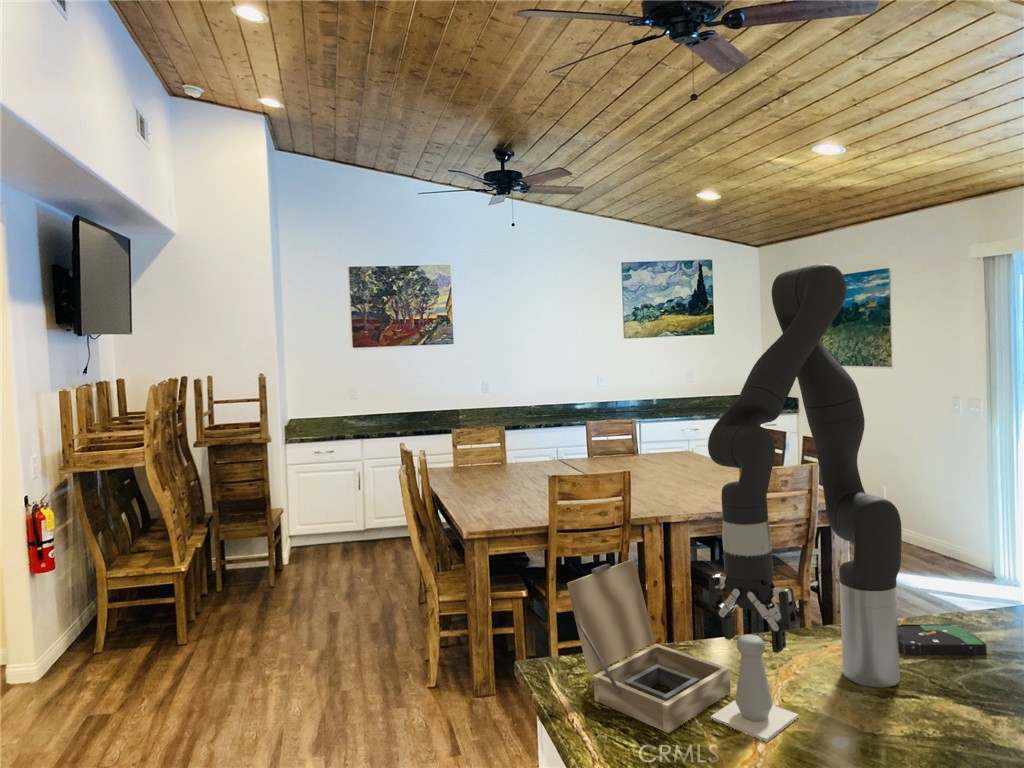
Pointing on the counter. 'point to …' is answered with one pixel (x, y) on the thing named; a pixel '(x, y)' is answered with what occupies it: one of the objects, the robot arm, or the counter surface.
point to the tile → (758, 729)
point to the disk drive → (939, 640)
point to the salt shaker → (752, 680)
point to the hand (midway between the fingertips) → (753, 644)
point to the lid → (610, 613)
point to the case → (659, 664)
